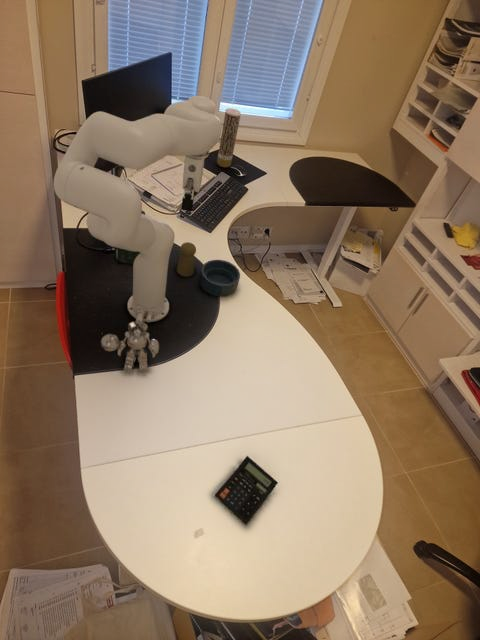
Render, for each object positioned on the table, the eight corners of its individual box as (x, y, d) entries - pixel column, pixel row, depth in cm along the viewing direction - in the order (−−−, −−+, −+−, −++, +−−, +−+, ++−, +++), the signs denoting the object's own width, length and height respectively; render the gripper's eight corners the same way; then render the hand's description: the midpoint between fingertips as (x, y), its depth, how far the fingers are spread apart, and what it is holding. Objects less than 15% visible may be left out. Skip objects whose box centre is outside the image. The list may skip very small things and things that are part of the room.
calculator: (214, 495, 93) (216, 490, 91) (245, 459, 101) (248, 454, 99) (246, 525, 91) (249, 521, 88) (275, 486, 98) (279, 481, 96)
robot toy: (100, 372, 109) (97, 336, 98) (103, 353, 113) (101, 317, 102) (157, 373, 112) (160, 339, 101) (158, 355, 116) (161, 320, 105)
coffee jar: (146, 252, 145) (148, 206, 132) (143, 266, 140) (145, 221, 126) (118, 248, 143) (117, 202, 130) (114, 263, 138) (112, 216, 125)
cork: (185, 262, 146) (188, 237, 138) (197, 271, 144) (201, 246, 136) (172, 269, 142) (175, 243, 134) (185, 278, 140) (188, 253, 132)
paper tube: (214, 161, 200) (223, 108, 182) (227, 161, 203) (237, 108, 185) (219, 168, 196) (229, 114, 178) (232, 168, 199) (243, 115, 181)
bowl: (236, 300, 138) (239, 288, 134) (197, 294, 136) (199, 282, 132) (237, 275, 147) (240, 263, 143) (201, 268, 145) (203, 256, 141)
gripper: (206, 164, 107) (197, 219, 120) (212, 137, 119) (203, 189, 131) (177, 158, 106) (172, 214, 119) (186, 131, 118) (180, 185, 131)
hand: (188, 201), depth 125 cm, fingers open, 9 cm apart
